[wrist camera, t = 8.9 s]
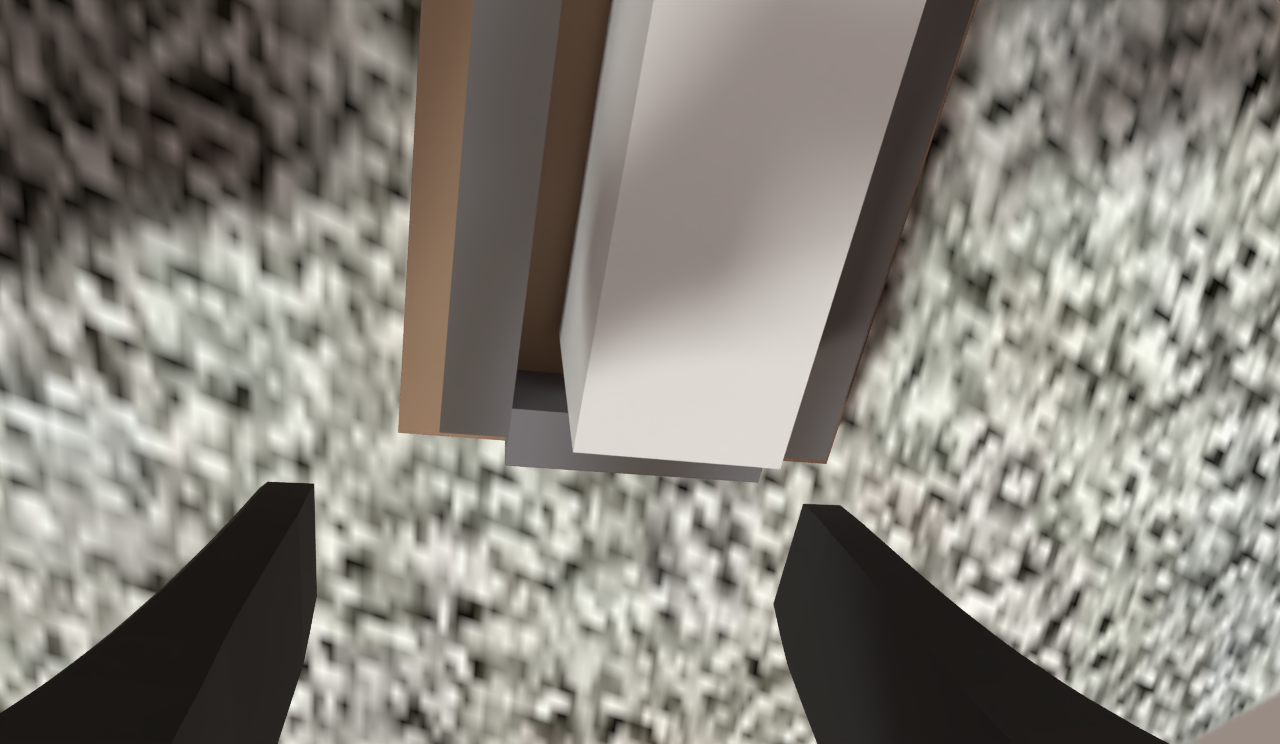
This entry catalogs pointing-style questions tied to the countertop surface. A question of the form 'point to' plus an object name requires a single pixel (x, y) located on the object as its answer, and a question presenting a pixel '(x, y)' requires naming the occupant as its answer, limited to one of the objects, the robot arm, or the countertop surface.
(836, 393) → the cradle jig
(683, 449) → the white pillar grey cap
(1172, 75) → the countertop surface
